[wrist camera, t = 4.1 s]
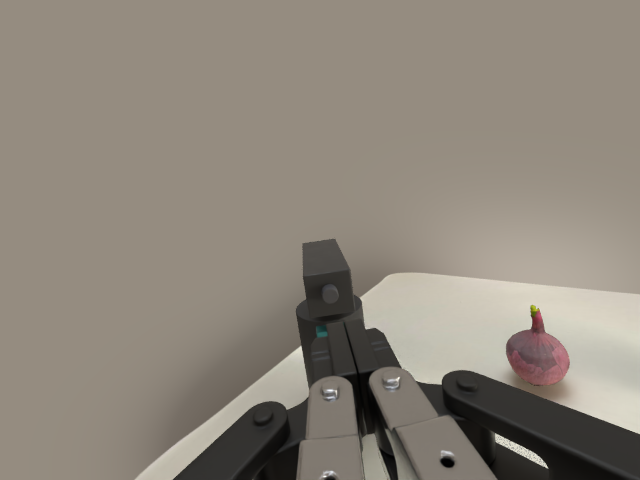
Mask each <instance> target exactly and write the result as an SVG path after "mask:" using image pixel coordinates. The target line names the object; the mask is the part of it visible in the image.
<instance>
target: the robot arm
mask: <svg viewBox="0 0 640 480" xmlns="http://www.w3.org/2000/svg"><path fill="white" fill-rule="evenodd" d="M344 327H345V328H344ZM326 328H327V335H328V336H324V337H318V338H315V339H314V341H313V342H312V344H311V365H312V386H311V388H310V390H309V397H308V398H307V399H306V400H305V401H304V402H302V403H301V404H299V405H297V406H295V407H293V408H291V409H288V410H286V408H285V407H284V406H283V405H282V404H281V403H278V402H273V401H269V402H263V403H260V404H257V405H255V406H254V407H252V408H251V409H249V410H248V411H247V412H246V413H245V414H244V415H243V416H241V417H240V418H239V419H238V420H237V421H236V422H235V423H234V424H233V425H232V426H231V427H229V428H228V429H227V430H226V431H225V432H224V433H223V434H222V435H221V436H220V437H219V438H217V439H216V440H215V441H214V442H213V443H212V444H211V445H210V446H209V447H208V448H207V449H205V450H204V451H203V452H202V453H201V454H200V455H199V456H198V457H197V458H196V459H195V460H193V461H192V462H191V463H190V464H189V465H188V466H187V467H186V468H185V469H184V470H183V471H181V472H180V473H179V474H178V475H177V476H176V477H175V478H174V479H173V480H365V475H364V467H363V459H362V451H363V445H362V437H361V436H362V435H365V428H364V423H365V427H366V431H367V434H372V433H375V436H376V440H377V447H378V454H379V458H380V461H381V463H382V466H383V469H384V472H385V474H386V477H387V480H640V434H638V433H635V432H632V431H630V430H627V429H624V428H622V427H619V426H616V425H614V424H611V423H608V422H606V421H603V420H600V419H598V418H595V417H592V416H590V415H587V414H584V413H582V412H579V411H576V410H574V409H571V408H568V407H566V406H563V405H560V404H558V403H555V402H552V401H550V400H547V399H544V398H542V397H539V396H536V395H534V394H531V393H529V392H526V391H523V390H521V389H518V388H515V387H513V386H510V385H507V384H505V383H502V382H499V381H497V380H494V379H491V378H489V377H486V376H483V375H481V374H478V373H475V372H471V371H465V370H458V371H453V372H450V373H448V374H446V375H445V376H444V377H443V379H442V385H438V384H426V383H420V382H417V381H415V380H414V378H413V377H412V375H411V374H410V373H409V372H408V371H406V370H404V369H402V368H401V366H400V364H399V362H398V360H397V358H396V356H395V354H394V352H393V350H392V349H391V347H390V345H389V343H388V341H387V339H386V337H385V335H384V333H382V332H381V331H379V330H378V329H376V328H373V329H367V330H366V329H365V327H364V324H363V322H362V320H361V318H360V319H354V320H348V321H344V324H343V321H342V322H336V323H330V324H326ZM363 419H364V421H363ZM495 433H496V434H498V435H500V436H502V437H504V438H506V439H508V440H510V441H512V442H514V443H516V444H518V445H521V446H523V447H525V448H527V449H529V450H531V451H532V452H534V453H536V454H537V455H538V456H540V457H541V458H542V459H543V460H544V462H545V463H546V465H547V466H548V469H547V468H545V467H543V466H541V465H539V464H537V463H535V462H533V461H531V460H529V459H527V458H525V457H523V456H521V455H520V454H518V453H516V452H514V451H512V450H510V449H508V448H506V447H504V446H502V445H500V444H498V443H496V442H495Z"/></svg>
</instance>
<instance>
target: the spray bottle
mask: <svg viewBox="0 0 640 480" xmlns="http://www.w3.org/2000/svg"><path fill="white" fill-rule="evenodd" d="M303 280H304V286H305V292H306V300H304V301H303V302H301V303H300V304H299V305H298V306H297V309H296V315H297V321H298V327H299V333H300V339H301V345H302V351H303V357H304V363H305V369H306V375H307V381H308V387H309V390H310V388H311V386H312V365H311V344H312V342H313V341H314V339H315V338H317V334H316V326H322V325H326V324H330V323H336V322H342V321H343V322H344V321H348V320H354V319H360V318H361V320H362V322H363V324H364V317H363V309H362V302H361V300H360V298H358V297H357V296H355V295H353V287H352V280H351V272H350V268H349V266H348V264H347V262H346V260H345V258H344V256H343V254H342V252H341V250H340V248H339V246H338V244H337V242H336V240H335V239H329V240H323V241H317V242H309V243H303ZM364 327H365V326H364ZM363 421H364V419H363ZM364 428H365V435H366V434H367V431H366V427H365V423H364ZM365 435H362V436H361V437H363V436H365Z"/></svg>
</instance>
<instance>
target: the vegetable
mask: <svg viewBox="0 0 640 480" xmlns="http://www.w3.org/2000/svg"><path fill="white" fill-rule="evenodd" d="M530 312H531V317H532V327H531V329H530V330H524V331H521V332H518V333H516V334H514V335H513V336H512V337H511V338H510V339H509V340H508V342H507V344H506V354H507V358H508V360H509V363H510V365H511V367H512V368H513V370H514V371H515V372H516V373H517V374H518V375H519V376H520V377H521V378H522V379H523V380H525V381H527V382H529V383H530V384H534V386H535V385H536V386H539V385H542V386H543V385H550V384H554V383H557V382H559V381H560V380H562V379H563V377H564V376H565V375H566V373H567V371H568V369H569V365H570V360H569V356H568V353H567V351H566V349H565V348H564V346H563V345H562V344H561V343H560V342H559V341H558V340H557V339H556V338H555V337H553V336H551V335H549V334H547V333H546V332H545V330H544V324H543V320H542V317H541V313H540V310H539V308H538V309H536V307H535V306H533V305H531V311H530Z"/></svg>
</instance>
